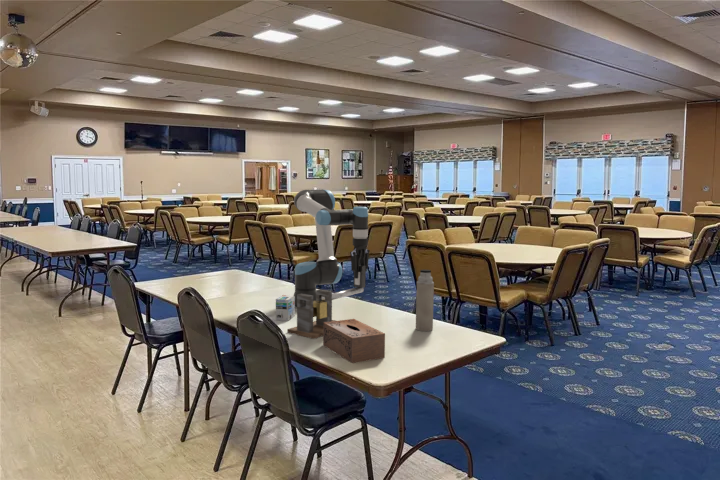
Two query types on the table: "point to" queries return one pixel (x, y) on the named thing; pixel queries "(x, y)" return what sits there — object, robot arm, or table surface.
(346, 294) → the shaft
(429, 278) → the thermos bottle
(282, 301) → the light bulb box
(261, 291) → the table surface
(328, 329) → the tissue box cover
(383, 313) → the table surface
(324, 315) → the block
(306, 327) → the shaft stand
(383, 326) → the table surface
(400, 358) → the table surface
